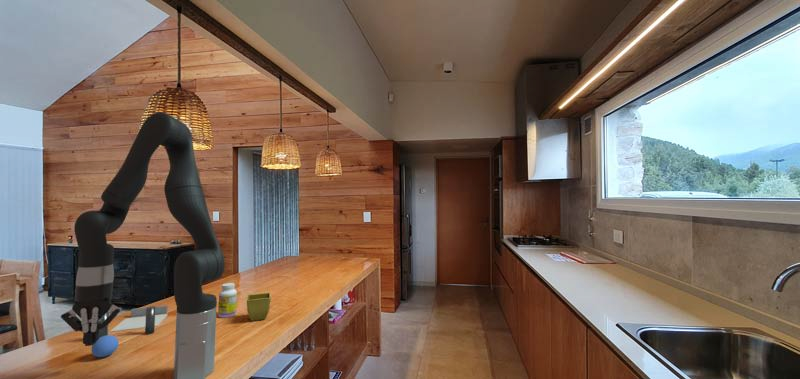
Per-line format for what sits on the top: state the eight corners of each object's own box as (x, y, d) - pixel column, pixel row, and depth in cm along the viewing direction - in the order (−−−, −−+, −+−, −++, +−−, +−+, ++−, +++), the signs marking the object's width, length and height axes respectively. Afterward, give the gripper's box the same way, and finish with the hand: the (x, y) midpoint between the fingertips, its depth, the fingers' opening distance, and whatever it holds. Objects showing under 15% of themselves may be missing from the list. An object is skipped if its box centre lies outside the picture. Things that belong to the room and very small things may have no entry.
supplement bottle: (214, 316, 128) (215, 285, 129) (229, 311, 134) (230, 281, 135) (224, 319, 125) (225, 287, 126) (239, 314, 131) (240, 283, 132)
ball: (112, 358, 92) (114, 338, 93) (86, 362, 90) (87, 341, 90) (121, 350, 98) (122, 330, 98) (96, 353, 95) (97, 333, 96)
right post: (152, 333, 110) (154, 308, 111) (143, 335, 109) (145, 309, 110) (155, 331, 113) (156, 306, 113) (146, 332, 112) (147, 306, 112)
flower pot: (246, 316, 128) (247, 294, 129) (269, 313, 132) (270, 292, 132) (245, 324, 120) (246, 300, 121) (270, 320, 124) (270, 297, 124)
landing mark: (157, 326, 118) (157, 325, 118) (110, 331, 112) (110, 331, 112) (168, 314, 130) (168, 313, 130) (126, 318, 125) (126, 318, 125)
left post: (105, 339, 105) (106, 312, 106) (95, 341, 104) (97, 313, 105) (108, 337, 108) (110, 310, 108) (99, 338, 107) (100, 311, 107)
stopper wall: (166, 313, 131) (166, 306, 132) (130, 317, 127) (131, 309, 127) (167, 312, 133) (167, 305, 133) (132, 316, 128) (132, 308, 128)
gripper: (54, 286, 81) (49, 354, 80) (118, 283, 86) (114, 346, 85) (71, 280, 88) (67, 342, 87) (130, 277, 93) (126, 335, 92)
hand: (90, 344), depth 86 cm, fingers closed
